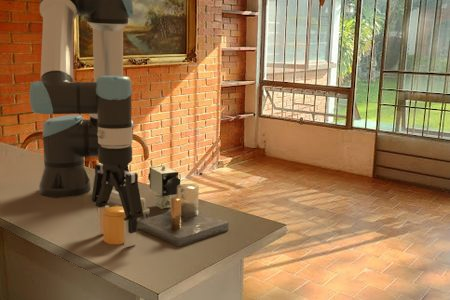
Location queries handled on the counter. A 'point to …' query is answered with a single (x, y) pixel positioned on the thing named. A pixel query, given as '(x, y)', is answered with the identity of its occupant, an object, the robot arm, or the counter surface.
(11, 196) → the counter surface
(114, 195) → the white handheld device
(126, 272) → the counter surface
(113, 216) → the orange acorn nut
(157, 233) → the grey slab with post
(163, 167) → the pneumatic valve
